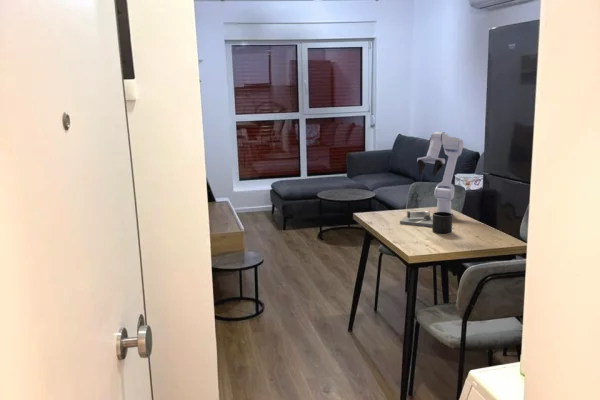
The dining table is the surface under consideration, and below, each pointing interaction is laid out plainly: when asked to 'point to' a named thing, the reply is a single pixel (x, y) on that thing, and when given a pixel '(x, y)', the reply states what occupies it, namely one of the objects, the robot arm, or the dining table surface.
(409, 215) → the bar
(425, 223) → the plate
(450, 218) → the mug
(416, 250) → the dining table surface
